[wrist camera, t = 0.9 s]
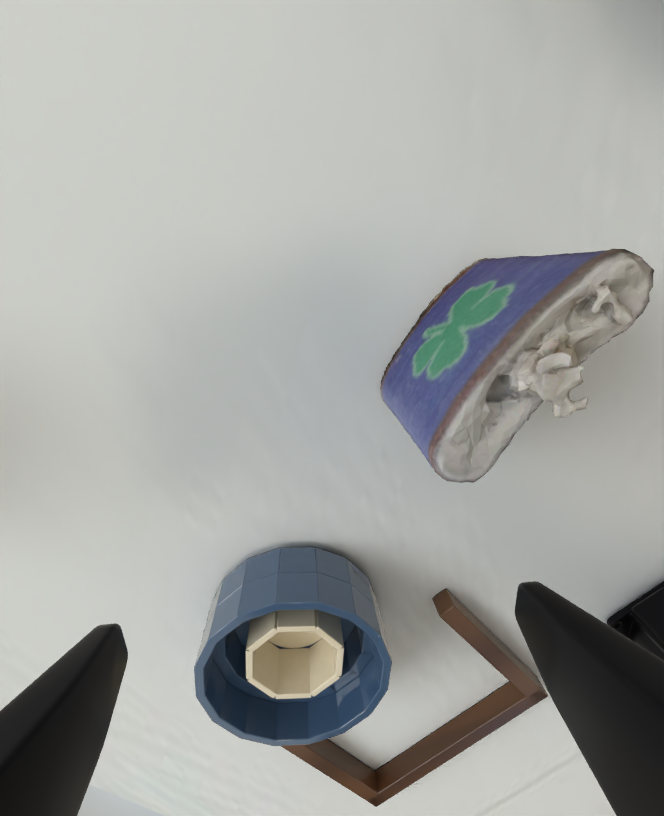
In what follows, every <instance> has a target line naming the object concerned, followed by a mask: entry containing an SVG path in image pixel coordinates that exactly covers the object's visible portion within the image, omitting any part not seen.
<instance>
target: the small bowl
mask: <svg viewBox="0 0 664 816" xmlns="http://www.w3.org/2000/svg"><path fill="white" fill-rule="evenodd" d="M320 639H321V640H320ZM269 641H270V642H269ZM317 641H318V642H317ZM316 642H317V643H316ZM272 643H273V644H275V645H277V646H280V647H285V648H291V649H279V648H278V647H276V646H275V645H273V644H272ZM314 643H315V644H314ZM312 644H314V645H313V646H311V647H310V648H301V647H306V646H309V645H312ZM343 656H344V643H343V635H342V627H341V619H340V617H339V616H335V615H332V614H329V613H326V612H323V611H320V610H316V609H315V610H278V611H275V612H272V613H269V614H266V615H263V616H260V617H257V618H254V619H251V620H250V624H249V631H248V638H247V645H246V679H248V680H247V681H248V682H249V683H251V684H252V685H254V686H255V687H257V688H258V689H260V690H261V691H263V692H264V693H266V694H267V695H269V696H270V697H272V698H274V697H276V699H294V698H311V695H312V696H313V697H315V696H316V695H317V694H319V693H320V692H321V691H323V690H324V689H326V688H327V687H328V686H330V685H331V684H332V683H334V682H335V681H337V680H338V679H339V678H340V676H342V667H343Z"/></svg>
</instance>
